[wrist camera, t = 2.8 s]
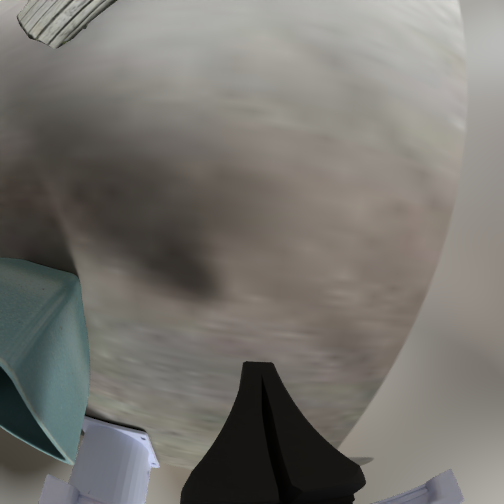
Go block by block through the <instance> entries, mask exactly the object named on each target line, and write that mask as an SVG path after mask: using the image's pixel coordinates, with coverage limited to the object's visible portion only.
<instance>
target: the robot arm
mask: <svg viewBox="0 0 504 504" xmlns="http://www.w3.org/2000/svg"><path fill="white" fill-rule="evenodd" d="M82 430H83V431H84V433H85V434H84V437H83V439H82V442H81V445H80V448H79V451H78V454H77V457H76V460H75V465H74V466H73V469H72V473H71V476H70V479H69V482H68V483H67V482H65V481H62V480H60V479H58V478H56V477H54V476H52V475H50V474H48V475H47V476H46V479H45V482H44V486H43V489H42V492H41V496H40V499H39V502H38V504H145V501H146V495H147V488H148V482H149V475H150V470H151V467H154V468H159V463H158V460H157V458H156V455H155V453H154V450H153V448H152V445H151V442H150V440H149V437H148V434H147V433H146V432H143V431H139V430H135V429H130V428H126V427H122V426H118V425H114V424H110V423H107V422H103V421H100V420H96V419H93V418H90V417H87V416H84V420H83V424H82ZM365 484H366V480H365V477H364V474H363V472H362V470H361V468H360V466H359V465H358V464H356V463H355V462H353V461H352V460H350V459H349V458H347V457H346V456H344V455H343V454H342V453H340V452H339V451H338V450H337V449H335V448H334V447H333V446H332V445H331V444H330V443H329V442H327V441H326V440H325V439H324V438H323V437H322V436H321V435H320V434H319V433H318V432H317V431H316V430H315V429H314V428H313V427H312V425H311V424H310V423H309V422H308V421H307V419H306V418H305V417H304V416H303V414H302V413H301V412H300V410H299V409H298V407H297V406H296V405H295V403H294V401H293V400H292V398H291V397H290V395H289V393H288V392H287V390H286V388H285V387H284V385H283V383H282V381H281V379H280V377H279V375H278V373H277V371H276V368H275V366H274V364H273V363H271V362H249V361H246V362H244V363H243V367H242V373H241V380H240V386H239V391H238V394H237V397H236V400H235V402H234V405H233V407H232V410H231V412H230V414H229V416H228V418H227V420H226V422H225V424H224V426H223V428H222V430H221V432H220V433H219V435H218V437H217V438H216V440H215V442H214V443H213V445H212V446H211V448H210V449H209V450H208V452H207V453H206V455H205V456H204V457H203V459H202V460H201V461H200V462H199V464H198V465H197V466H196V467H195V468H194V470H193V471H192V472H191V474H190V476H189V478H188V480H187V481H186V483H185V485H184V487H183V489H182V492H181V500H180V504H353V501H354V500H355V498H354V493H355V492H357V491H358V490H360V489H361V488H362V487H363V486H364V485H365ZM463 501H464V498H463V495H462V493H461V490H460V488H459V486H458V483H457V481H456V479H455V477H454V474H453V472H452V470H451V469H449V470H447V471H445V472H443V473H441V474H439V475H437V476H435V477H433V478H432V479H430V480H429V481H427V482H426V483H425V484H423V485H421V486H418V487H416V488H414V489H411V490H409V491H406V492H404V493H401V494H398V495H396V496H393V497H390V498H387V499H384V500H381V501H378V502H375V503H371V504H460V503H462V502H463Z"/></svg>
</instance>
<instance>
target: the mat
mask: <svg viewBox="0 0 504 504" xmlns="http://www.w3.org/2000/svg"><path fill="white" fill-rule="evenodd" d="M116 1H117V0H29V1H28V3H27V5H26V6H25V7H24V9H23V10H22V11H21V12H20V13H19V14H18V16H17V19H18V22H19V24H20V26H21V27H22V28H23V30H24V31H25V33H26V34H27V35H28V37H29V38H30V39H34V40H37V41H40V42H42V43H44V44H46V45H48V46H50V47H52V48H54V49H56V48H59V47H60V46H62V45H63V44H65V43H66V42H68V41H70V40H71V39H73V38H74V37H75V36H76V35H77V34H78V33H79V32H80V31H81V30H82V29H86V27H87V25H88V23H89V22H90V21H92V20H93V19H94V18H95V17H96V16H98V15H99V14H100V13H101V12H103V11H104V10H105V9H106V8H108V7H109V6H110V5H112V4H113V3H114V2H116Z"/></svg>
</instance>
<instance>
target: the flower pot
mask: <svg viewBox="0 0 504 504" xmlns="http://www.w3.org/2000/svg"><path fill="white" fill-rule="evenodd" d="M89 386H90V356H89V344H88V334H87V329H86V323H85V318H84V312H83V304H82V296H81V286H80V281H79V278H78V277H77V276H76V275H74V274H72V273H69V272H65V271H61V270H57V269H53V268H50V267H46V266H43V265H40V264H36V263H33V262H30V261H27V260H23V259H14V258H0V427H1V428H3V429H4V430H6V431H7V432H9V433H10V434H12V435H13V436H15V437H17V438H18V439H20V440H22V441H24V442H25V443H27V444H29V445H31V446H33V447H35V448H36V449H38V450H40V451H42V452H44V453H46V454H48V455H50V456H52V457H54V458H56V459H58V460H60V461H62V462H65V463H67V464H70V465H75V459H76V454H77V448H78V443H79V438H80V434H81V429H82V424H83V420H84V415H85V411H86V407H87V402H88V396H89Z"/></svg>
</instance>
